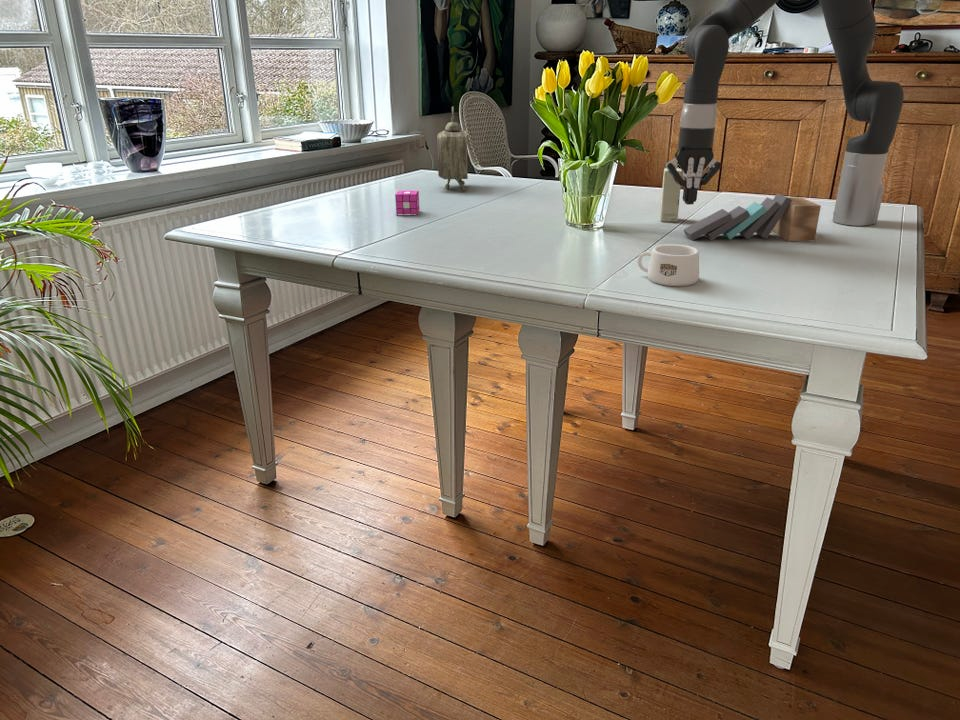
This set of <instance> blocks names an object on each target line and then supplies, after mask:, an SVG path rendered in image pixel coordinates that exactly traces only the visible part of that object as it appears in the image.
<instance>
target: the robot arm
mask: <svg viewBox="0 0 960 720" xmlns="http://www.w3.org/2000/svg"><path fill="white" fill-rule="evenodd" d="M779 1H780V0H727V2H725V4H724V5H722V6H721V7H720V8H718V9H716V10H715V11H714V12H712V13H711V14H710V15H708V16H707V17H705V18H704V19H703V20H701V21H700V22H699V23H697V24H696V25H695V26H694V27H693V28H692V29H691V30H690V32H689V33H688V35H687V36H686V38H685V40H684V52H685V54H686V56H687V58H689V59H690V60H692V61H694V64H693V68H692V73H691V75H689V76H688V77H687V78H686V80H685V85H684V91H683V92H684V93H683V103H682V104H683V105H682V109H681V113H680V120H679V132H678V143H677V150H676V152H675V154H674V157H673V159H671V160H670V161H666V162H664V167H665V168H667V170H668V171H669V173H670V174H671V176H672V177H673V179H674V180H675V181H676V183H677V184H679V185H681V186H682V187H683V190H682V201H683V202H684V204H685V205H694V204H695V203H696V202H697V200H698V199H697V198H698V191H699V190H698V189H699V187H702V186H705V185H707V184H708V183H709V182H710V181H711V180H712V178H713V177H714V176H715V175H716V174H717V173H718V172H719V170H720V169H721V168H722V166H723V163H722V162H721V161H718V160H717V159H716V158H715V157H714V155H715V154H714V151H713V147H714V141H715V139H714V138H715V131H716V124H717V123H716V122H717V107H718V105H717V103H718V97H719V84H720V81H721V77H722V75H723V71H724V68H725V65H726V62H727V58H728V54H729V47H730V43H729V40H730V38H732V37H734V36H735V35H737V34H741V33H743V32H744V31H746V30H748V29H749V28H750V27H751V26H752V25H754V24H755V23H756V22H757V21H758V20H759V19H760V18H762V16H763V15H764V14H765V13H766V12H767V11H768V10H769V9H771V8H772V7H773V6H775V5H776V3H778V2H779ZM818 2H819V4H820V7H821V11H822V14H823V18H824V22H825V27H826V29H827V33H828V35H829V39H830V43H831V45H832V48H833V52H834V55H835V59H836V63H837V66H838V71H839V74H840V75H839V76H840V80H841V86H842V93H843V99H844V104H845V105H844V106H845V109H846V111H847V114H848V115H849V117H850V118H851V119H852V120H853V121H857V122H862V123H863V122H865V123H869V124H868V127H867V130H866V131H865V132H864V133H863V134H860V135H858V136H854V137H851V138H849V139H848V140H847V142H846V145H845V152H844V157H843V162H842V168H841V171H840V172H841V173H840V178H839V179H840V180H839V183H838V189H837V195H836V199H835V204H834V211H833V213H832V221H833V222H834V223H837V224H840V225H846V226H856V227H857V226H860V227H863V226H871V225H877V223H878V218H879V215H880V214H879V213H880V209H881V204H882V200H883V197H884V196H883V195H884V191H885V185H884V184H882V182H883V178H884V172H885V169H886V162H887V158H888V154H889V150H890V146H891V145H892V142H893V140H894V138H895V136H896V135H895V134H896V131H897V127H898V123H899V120H900V115H901V112H902V109H903V104H904V97H905V93H904V89H903V86H902V85H901V84H900V83H899V82H896V81H891V80H890V81H889V80H887V81H885V80H883V81H882V80H872V78H871V76H870V74H869V71H868V65H867V58H868V55H869V53H870V51H871V47H872V45H873V43H874V41H875V37H876V34H877V21H876V17H875V12H874V8H873V5H872V1H871V0H818ZM678 166H679V167H680V169H682V176H683V178H682V177H681V176H680V174H679V173H678V171H677V170H676V169H677V168H678ZM707 167H708V168H707ZM706 168H707V169H706ZM705 169H706V171H704V170H705ZM703 171H704V173H703Z"/></svg>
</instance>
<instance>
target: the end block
mask: <svg viewBox="0 0 960 720" xmlns="http://www.w3.org/2000/svg"><path fill="white" fill-rule="evenodd" d="M788 198H789V199H791V200H792V202H791V203H790V205H789V206H788V208H787V209H786V211H785V212H784V214H783V215H782V216H781V218H780V219H779V221H778V222H777V224H776V225H775V227H774V228H773V230H772V231H771V233H774V234H775V235H777V236H779V237H780V238H783V239H785V241H788V242H805V240H816V234H817V229H818V223H819V219H820V213H821V207H822V206H821V205H820V204H817V203H816V202H813V201H811V200H808V199H806V198H803V197H800V196H799V197H798V196H797V197H796V196H794V197H792V196H791V197H789V196H788Z"/></svg>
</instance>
